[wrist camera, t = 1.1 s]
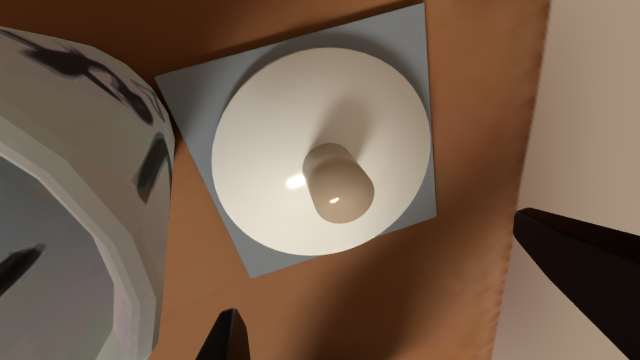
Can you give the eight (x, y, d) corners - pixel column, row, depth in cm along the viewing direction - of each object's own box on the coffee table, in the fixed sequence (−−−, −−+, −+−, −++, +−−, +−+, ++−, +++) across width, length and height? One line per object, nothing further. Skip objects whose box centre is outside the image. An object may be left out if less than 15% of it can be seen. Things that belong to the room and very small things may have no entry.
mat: (433, 213, 20) (436, 216, 20) (250, 274, 19) (250, 278, 19) (419, 2, 14) (423, 2, 14) (156, 75, 13) (154, 77, 13)
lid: (429, 213, 19) (466, 252, 16) (256, 270, 19) (259, 324, 15) (414, 18, 14) (465, 17, 11) (171, 85, 13) (147, 108, 10)
